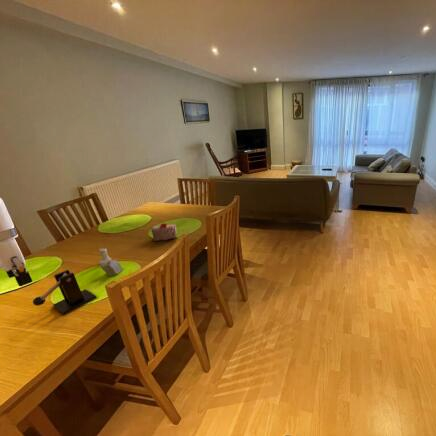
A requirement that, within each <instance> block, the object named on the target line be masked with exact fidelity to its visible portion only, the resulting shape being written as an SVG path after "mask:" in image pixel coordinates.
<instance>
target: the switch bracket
mask: <svg viewBox="0 0 436 436" xmlns="http://www.w3.org/2000/svg"><path fill="white" fill-rule="evenodd" d="M64 273H66V274H68V275H65V276H63V277H61V276H62V275H63V274H64ZM53 277H54V280H55V281H56V283H57V282H59V281H60V284H61V285H60V286H59V287H58V288H59V291H60V292H61V295H62V297H63V299H62V300H60V301H57V302H56V303H53V304H52V306H53V308H54V309H56V310H57V311H58V312H59V313H61V314H62V315H63V316H65V315H67V314H69V313H70V312H72V311H74V310H76V309H79V308H80V307H82V306H84V305H86V304H88V303H89V302H92V301H94V300H96V299H97V296H96V294H94V293H92V292H91V291H89V290H88V289H86V288H84V289H82V290H81V287H80V286H79V283H78V281H77V278H76V275H75V273H74V272H70V270H69V269H65V270H63V271H61V272H58V273H56V274H53ZM59 277H60V278H59Z"/></svg>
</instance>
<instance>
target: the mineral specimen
mask: <svg viewBox="0 0 436 436" xmlns="http://www.w3.org/2000/svg"><path fill="white" fill-rule="evenodd" d="M98 263H99V266H100V269H101V270H102V271H103V272H105V273H106V275H107V276H109V277H112V276H116V275H118V274H120V272H121V271H122V270H123V267H122V265H121V264H120V263H119V262H118V260H116V259H111V260H104V261H101V260H100V261H99V262H98Z"/></svg>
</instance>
